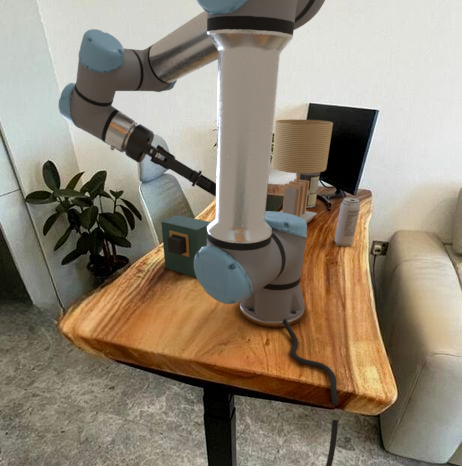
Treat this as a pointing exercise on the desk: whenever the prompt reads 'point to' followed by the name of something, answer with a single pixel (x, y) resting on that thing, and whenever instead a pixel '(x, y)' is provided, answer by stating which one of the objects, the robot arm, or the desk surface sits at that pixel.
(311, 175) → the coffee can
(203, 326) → the desk surface
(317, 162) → the desk lamp
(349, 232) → the energy drink can
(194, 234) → the teal green box
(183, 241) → the button
